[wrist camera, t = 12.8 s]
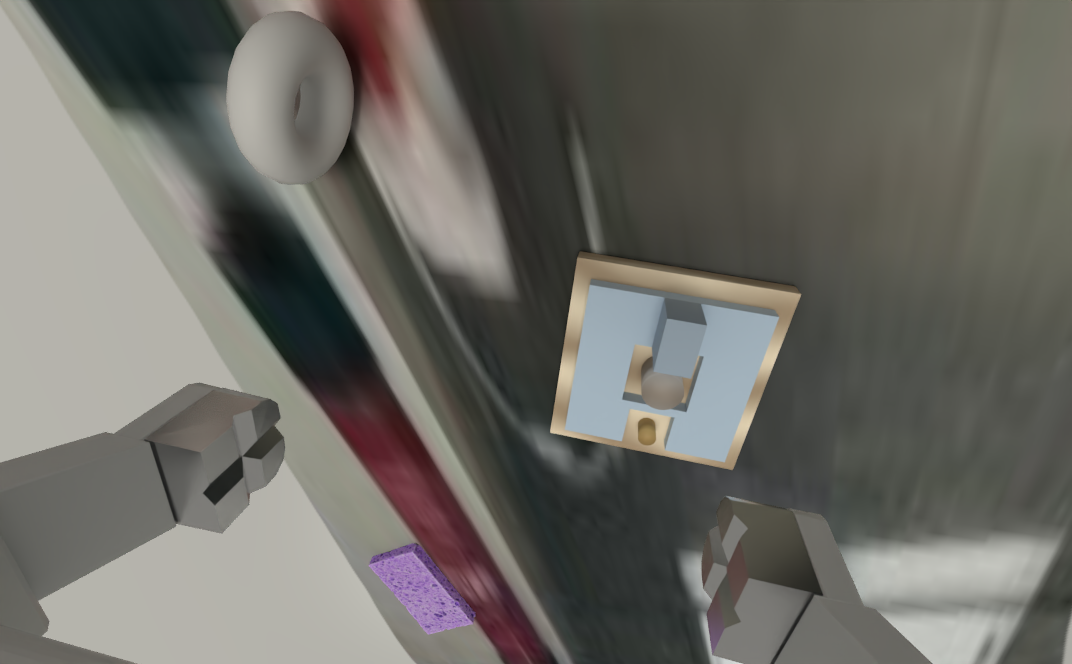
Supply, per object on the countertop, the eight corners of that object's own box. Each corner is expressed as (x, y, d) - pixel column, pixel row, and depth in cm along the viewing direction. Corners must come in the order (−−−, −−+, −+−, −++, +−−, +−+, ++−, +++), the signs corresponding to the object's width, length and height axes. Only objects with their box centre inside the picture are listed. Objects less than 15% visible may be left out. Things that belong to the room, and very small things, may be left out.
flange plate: (591, 278, 36) (585, 304, 32) (775, 310, 35) (793, 340, 31) (566, 421, 42) (558, 457, 38) (722, 452, 41) (732, 494, 37)
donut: (321, 13, 33) (206, -12, 24) (370, 29, 33) (272, 9, 24) (313, 164, 38) (215, 189, 29) (356, 178, 38) (270, 207, 29)
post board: (579, 251, 37) (572, 271, 33) (795, 286, 35) (815, 312, 31) (552, 422, 44) (544, 455, 40) (729, 457, 43) (739, 496, 39)
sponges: (433, 620, 62) (427, 635, 60) (373, 551, 58) (365, 565, 56) (478, 610, 59) (474, 625, 58) (418, 538, 55) (412, 552, 54)
